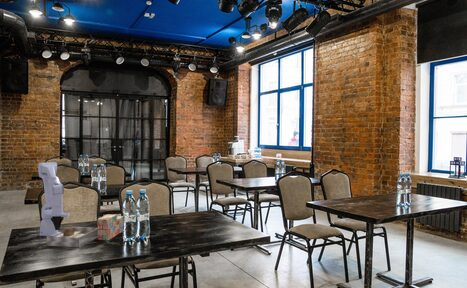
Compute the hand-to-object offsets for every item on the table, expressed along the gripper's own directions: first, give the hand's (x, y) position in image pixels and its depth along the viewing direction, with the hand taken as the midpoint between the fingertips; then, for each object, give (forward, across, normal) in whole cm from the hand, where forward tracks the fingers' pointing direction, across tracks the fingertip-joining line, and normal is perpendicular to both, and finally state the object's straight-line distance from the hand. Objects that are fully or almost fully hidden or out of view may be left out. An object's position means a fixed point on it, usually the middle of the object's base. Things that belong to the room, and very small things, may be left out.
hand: (57, 229), depth 210 cm
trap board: (+6, +10, 0) cm, 12 cm away
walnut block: (+3, +7, 0) cm, 7 cm away
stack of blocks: (+6, +25, +14) cm, 30 cm away
